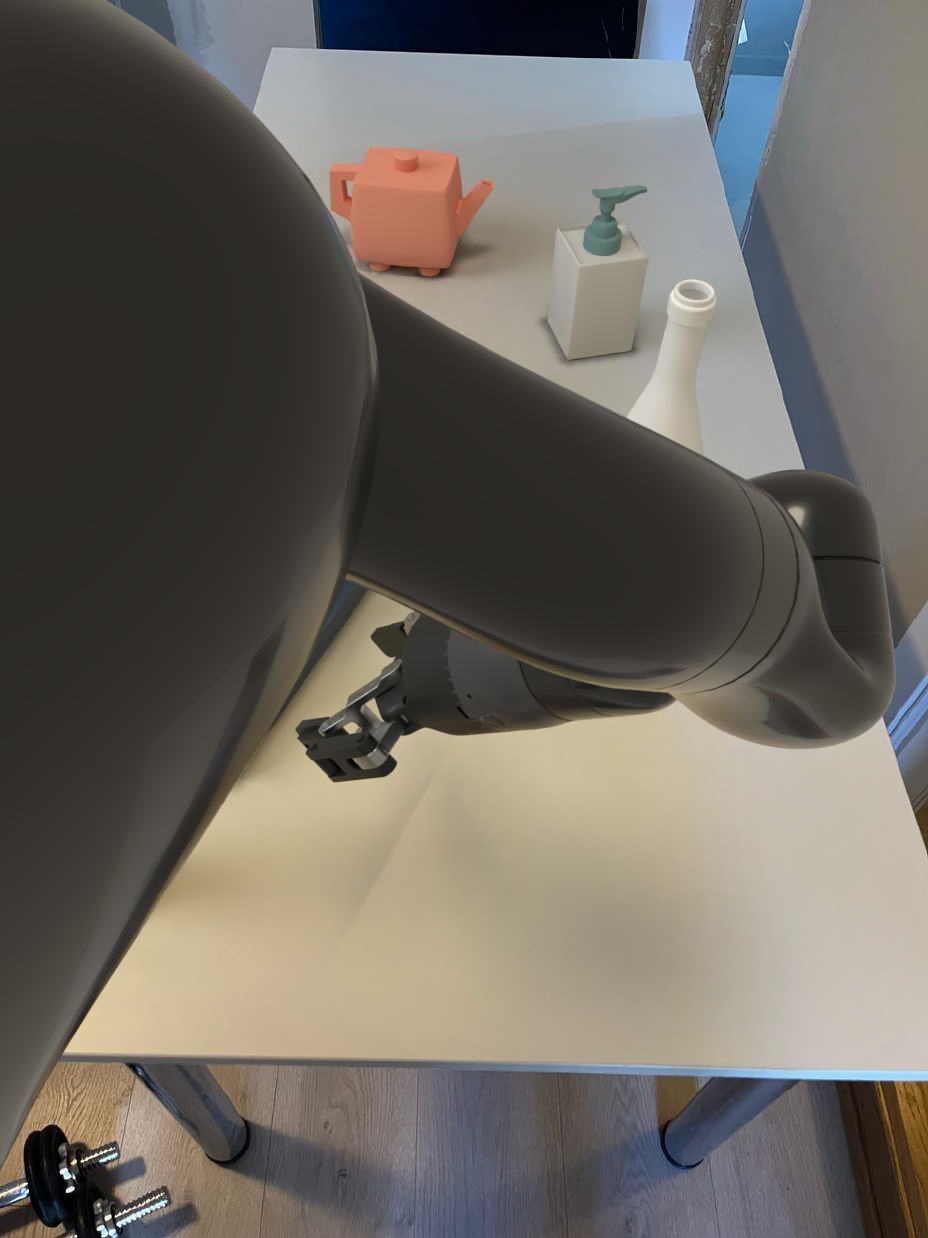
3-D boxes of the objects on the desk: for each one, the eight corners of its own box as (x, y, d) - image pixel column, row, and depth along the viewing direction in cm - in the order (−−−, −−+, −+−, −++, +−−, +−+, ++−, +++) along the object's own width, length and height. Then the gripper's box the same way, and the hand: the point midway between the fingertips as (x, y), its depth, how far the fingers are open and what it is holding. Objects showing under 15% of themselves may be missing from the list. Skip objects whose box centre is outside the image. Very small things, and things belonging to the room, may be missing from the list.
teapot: (496, 238, 131) (500, 137, 120) (484, 287, 123) (487, 184, 112) (347, 224, 133) (337, 123, 122) (326, 271, 125) (314, 168, 114)
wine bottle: (688, 583, 91) (772, 324, 68) (595, 587, 91) (646, 327, 67) (668, 515, 97) (739, 255, 74) (581, 519, 97) (623, 258, 73)
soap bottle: (633, 351, 115) (661, 204, 100) (567, 360, 114) (585, 213, 98) (610, 312, 120) (633, 167, 105) (546, 321, 119) (561, 175, 104)
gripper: (528, 522, 50) (368, 576, 63) (389, 710, 43) (238, 730, 55) (602, 619, 53) (435, 653, 65) (483, 813, 45) (319, 810, 58)
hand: (345, 688), depth 60 cm, fingers open, 8 cm apart
